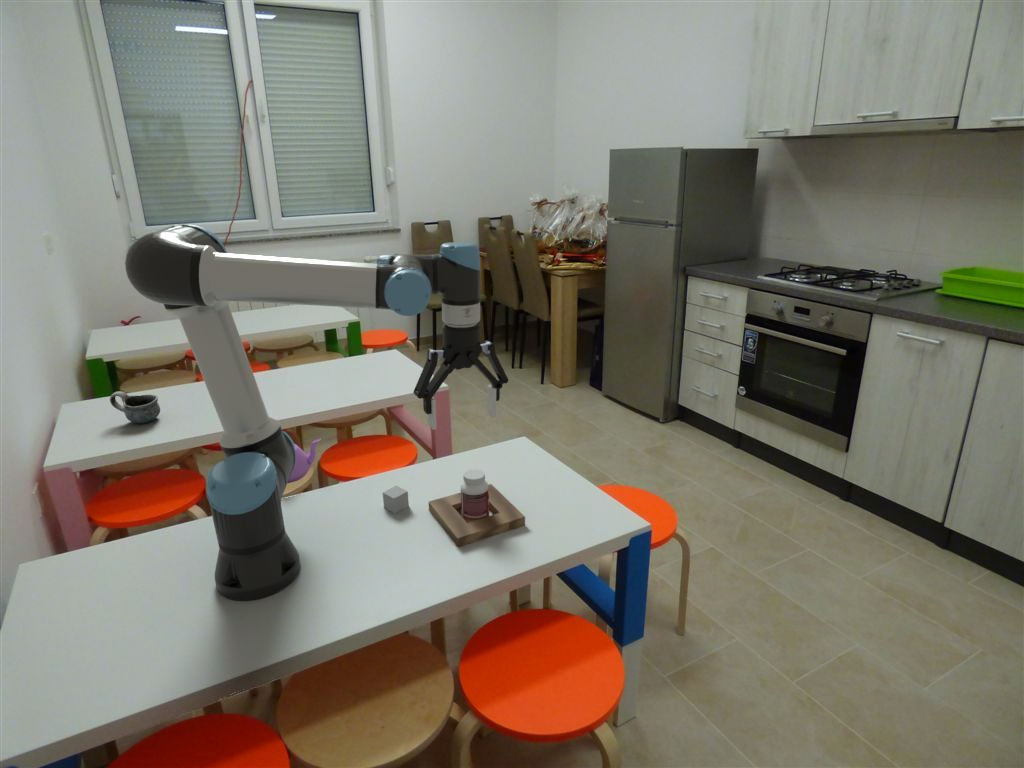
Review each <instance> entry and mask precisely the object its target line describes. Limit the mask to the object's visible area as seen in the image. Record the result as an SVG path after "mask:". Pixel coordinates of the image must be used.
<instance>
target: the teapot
mask: <svg viewBox="0 0 1024 768" xmlns="http://www.w3.org/2000/svg"><path fill="white" fill-rule="evenodd" d="M320 441H321V438H317V439H315V440H313V441H312V442H311V444H310V449H309V450H310V451H309V452H308V454H306V453H305V451H304V450H303V449H302V448H301V447H300V446H298V445H297V444H296V443H294V446H295V451H296V458H295V465H294V469H293V471H292V473H291V475H290V478H289V480H288V483H287V484H290V483H294V482H297V481H300V480H301V479H303V478H304V477H305V476H306V475H307V474H308V472H309V471H310V468H311V465H312V464H313V463H314V462H315V459H316V455H317V452H316V449H317V447H316V446H317V445H318V443H319V442H320Z"/></svg>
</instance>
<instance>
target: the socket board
mask: <svg viewBox="0 0 1024 768" xmlns="http://www.w3.org/2000/svg"><path fill="white" fill-rule="evenodd" d="M488 485H489V512H490V513H491V515H489V516H488V517H485V518H482V519H478V520H475V521H472V522H469V523H467V522H466V521H465V520H464V519H463V518H462V514H461V513H459V512H461V492H458V493H455V494H450V495H447V496H443V497H440V498H436V499H433V500H429V501H428V511H429V512H430V513H431V514H432V517H434V518H435V520H436V521H437V522H438V524H439V525H440V526H441V527H442V529H443V530H444V532H445V533H446V534H447V535H448V536H449V538H450V539H451V540H452V542H453V543H454V544H455V545H456V547H458V548H460V547H462V546H466V545H469V544H472V543H475V542H478V541H481V540H484V539H488V538H490V537H494V536H496V535H499V534H503V533H506V532H509V531H511V530H515V529H518V528H521V527H524V526H526V516H525V515H524V514H523V513H522V511H520V510H519V509H518V508H517V507H516V506H515V505H514V504H512V502H511V501H510V500H508V498H507V497H505V495H504V494H502V493H501V492H500V491H499V490H498V489H497V488H496V486H494V485H493V484H492V483H490V484H489V483H488ZM492 514H493V515H492Z"/></svg>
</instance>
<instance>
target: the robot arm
mask: <svg viewBox="0 0 1024 768" xmlns="http://www.w3.org/2000/svg"><path fill="white" fill-rule="evenodd" d="M439 249H440V251H439V253H435V254H398V253H393V254H383V255H379V256H378V257H377V258H376V263H374V262H373V263H371V262H359V261H358V262H355V261H342V260H327V259H325V260H324V259H314V258H311V259H310V258H298V257H283V256H281V257H280V256H269V255H253V254H239V253H228V251H227V249H226V247H225V245H224V244H223V242H222V241H221V239H220V238H219V237H218V236H217V235H216V234H215V233H213V232H212V231H210V230H209V229H207V228H204V227H202V226H200V225H199V226H198V225H195V224H174V225H172V226H168V227H165V228H163V229H160V230H159V229H158V230H157V231H154V232H151V233H147V234H145V235H143V236H140V237H139V238H138V239H137V240H135V242H133V243H132V245H131V246H130V247H129V249H128V251H127V253H126V257H125V261H124V265H125V266H124V267H125V272H126V277H127V278H128V281H129V283H130V284H131V285H132V286H133V288H134V289H135V290H136V291H137V292H138V293H139V294H141V295H142V296H143V297H145V298H146V299H148V300H150V301H153V302H155V303H158V304H163V306H164V309H165V310H166V311H167V312H168V313H170V314H172V315H175V316H177V317H178V319H179V320H180V324H181V326H182V329H183V331H184V333H185V336H186V338H187V342H188V344H189V346H190V348H191V351H192V354H193V356H194V359H195V362H196V364H197V366H198V369H199V372H200V373H201V376H202V379H203V382H204V384H205V386H206V387H205V388H206V389H207V392H208V394H209V398H210V399H211V401H212V404H213V407H214V409H215V412H216V413H217V417H218V419H219V422H220V424H221V426H222V430H223V434H222V435H221V437H220V439H219V446H220V448H221V450H222V452H223V456H224V460H220V461H219V462H216V464H214V465H213V467H211V469H210V470H209V472H208V473H207V477H206V484H205V485H206V498H207V500H208V503H209V507H210V512H211V516H212V520H213V526H214V529H215V535H216V539H217V544H218V553H217V559H216V565H215V570H214V582H215V586H216V589H217V591H218V593H219V594H220V595H222V596H223V597H224V598H227V599H230V600H234V601H253V600H259V599H262V598H266V597H269V596H271V595H273V594H276V593H278V592H280V591H282V590H283V589H285V588H286V587H288V586H289V585H290V584H291V583H293V582H294V580H295V579H296V578H297V576H298V574H299V573H300V570H301V559H300V555H299V552H298V549H297V548H296V547H295V545H294V543H293V541H292V540H291V538H290V537H289V535H288V534H287V533H288V532H287V531H286V527H285V521H284V515H283V514H284V513H283V509H282V498H283V496H284V492H285V490H286V487H287V484H289V483H288V480H289V478H290V475H291V473H292V471H293V469H294V465H295V458H296V451H295V446H294V444H295V443H294V441H293V439H292V437H290V435H289V434H288V433H287V432H286V431H283V429H282V426H281V423H280V421H279V420H277V419H275V418H272V417H270V416H269V414H268V413H269V412H267V408H266V405H265V402H264V400H263V396H262V394H261V391H260V389H259V386H258V383H257V380H256V378H255V375H254V372H253V368H252V366H251V364H250V361H249V358H248V355H247V353H246V350H245V347H244V344H243V342H242V339H241V335H240V334H239V330H238V327H237V324H236V322H235V319H234V317H233V313H232V311H231V308H230V305H229V304H230V303H229V302H244V303H246V302H247V303H262V304H263V303H266V304H282V305H283V304H284V305H285V304H286V305H299V306H300V305H301V306H302V305H303V306H304V305H306V306H319V307H320V306H321V307H339V308H341V307H342V308H357V309H358V308H361V309H375V310H376V309H378V310H392V311H393V312H394V313H396V314H397V315H400V316H404V317H412V316H416V315H419V314H420V313H421V312H423V311H424V310H425V309H427V306H428V305H429V303H430V301H431V300H430V299H431V295H439V294H440V295H441V320H442V322H443V324H442V327H441V328H442V348H441V349H436V350H435V349H433V348H429V349H428V350H427V357H426V362H425V364H424V366H423V367H422V371H421V373H420V375H419V378H418V380H417V383H416V385H415V387H414V389H413V395H415V396H416V397H417V398H418V399H422V402H423V403H422V404H423V405H422V406H423V412H424V413H425V414H426V415H427V423H428V424H427V425H428V426H429V427H430V428H431V429H432V430H433V431H434V430H437V429H438V428H437V400H436V398H434V396H435V394H436V393H437V392H438V391H439V389H440V387H441V386H442V385H443V384H444V382H445V380H446V379H447V378H448V376H449V375H450V374H451V373H453V372H454V370H457V371H458V370H462V369H470V368H472V367H473V366H474V367H475V368H476V369H477V370H478V371H479V372H480V373H481V375H482V376H484V377H485V379H487V381H488V382H489V384H487V386H486V387H487V398H486V400H487V401H486V402H487V407H486V409H487V410H486V411H487V412H486V413H487V414H488V415H489V416H490V417H491V418H497V402H498V401H500V398H501V397H500V396H501V394H500V393H501V392H500V391H501V389H502V388H503V385H504V384H507V383H509V378H508V376H507V374H506V372H505V370H504V368H503V366H502V364H501V362H500V359H499V358H498V356H497V354H496V347H495V344H494V343H492V342H491V341H489V340H485V341H484V343H481V324H480V323H479V322H480V321H481V271H482V270H481V260H480V255H481V254H480V248H479V246H477V245H476V244H475V243H472V242H465V241H453V242H444V243H442V244H441V245H440V248H439ZM482 352H483V353H484V354H485V356H486V357H487V360H488V361H489V363H490V366H491V367H492V369H493V371H494V373H495V375H496V376H495V375H493V374H492V372H491V371H490V370H489V369H488V368H487V366H485V365H484V363H483V362H482V361H481V360H480V359H479V357H480V355H481V353H482ZM441 358H443V359H444V360H443V361H442V362H441V363H440V367H439V368H438V370H437V371H436V372H435V370H436V368H437V365H438V362H440V360H441ZM434 373H435V374H434ZM433 374H434V375H433Z"/></svg>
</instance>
